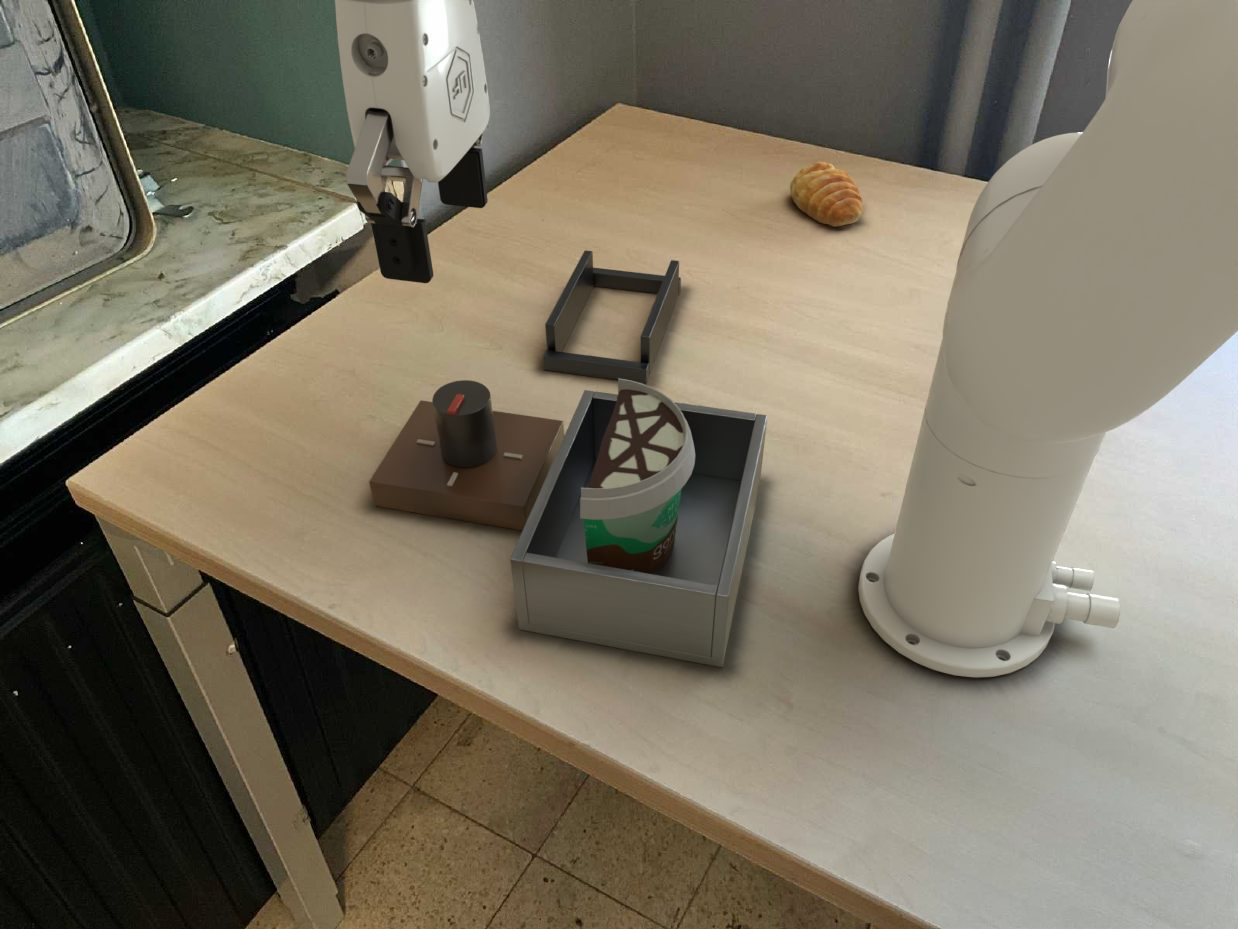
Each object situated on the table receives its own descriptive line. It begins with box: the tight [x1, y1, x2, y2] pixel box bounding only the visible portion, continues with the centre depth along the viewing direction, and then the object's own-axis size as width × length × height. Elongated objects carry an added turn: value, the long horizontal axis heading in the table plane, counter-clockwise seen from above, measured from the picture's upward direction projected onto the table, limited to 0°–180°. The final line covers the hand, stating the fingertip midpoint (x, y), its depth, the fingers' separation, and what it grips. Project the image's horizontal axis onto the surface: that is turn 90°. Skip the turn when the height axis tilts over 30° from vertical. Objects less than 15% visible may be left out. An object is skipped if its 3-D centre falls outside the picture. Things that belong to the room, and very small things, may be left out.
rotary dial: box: [368, 399, 565, 531], centre depth 76 cm, size 12×10×3 cm
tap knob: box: [431, 379, 497, 468], centre depth 74 cm, size 4×4×5 cm
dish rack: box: [542, 250, 682, 385], centre depth 91 cm, size 9×15×4 cm, turn 166°
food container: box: [580, 378, 695, 574], centre depth 67 cm, size 12×6×10 cm, turn 168°
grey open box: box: [509, 389, 768, 668], centre depth 69 cm, size 14×18×7 cm
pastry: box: [789, 161, 864, 228], centre depth 107 cm, size 9×7×4 cm
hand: (437, 239), depth 64 cm, fingers open, 9 cm apart
